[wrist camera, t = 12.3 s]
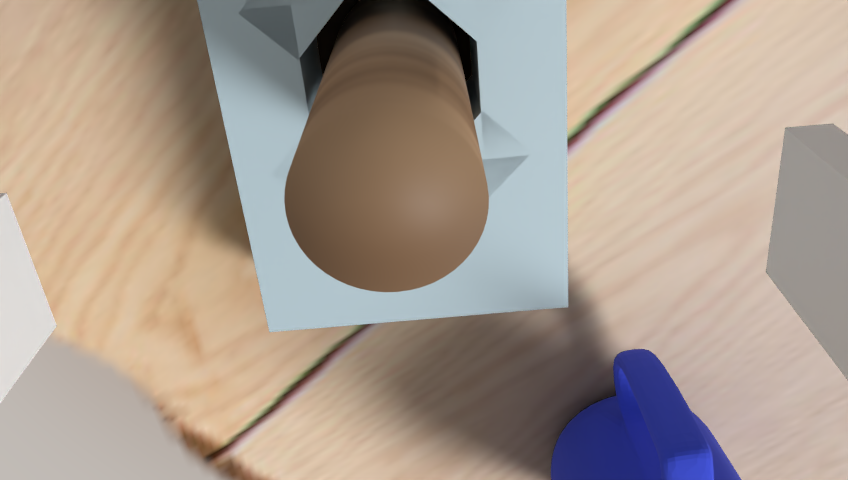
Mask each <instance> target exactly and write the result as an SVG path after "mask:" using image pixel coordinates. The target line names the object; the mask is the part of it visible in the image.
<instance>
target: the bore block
mask: <svg viewBox="0 0 848 480" xmlns="http://www.w3.org/2000/svg"><path fill="white" fill-rule="evenodd" d="M429 1H430V2H431V3H433V4H434V5H435V6H436V7H437V8H438V9H440V10H441V11H442V12H443V13H444V14H445V15H447V16H448V17H449V18H450V19H451V20H452V21H454V22H455V23H456V24H457V25H458V26H459V27H461V28H462V29H463V30H464V31H465V32H466V33H468V34H469V40H470V56H471V72H472V75H471V76H470V78H469V79H468V80H467V81H466V86H467V91H468V95H469V100H470V105H471V110H472V114H473V119H474V124H475V128H476V133H477V138H478V143H479V147H480V152H481V157H482V161H483V166H484V171H485V176H486V180H487V186H488V193H489V209H488V216H487V221H486V224H485V228H484V231H483V233H482V235H481V237H480V240H479V242H478V243H477V245H476V247H475V248H474V250H473V251H472V253H471V254H470V255H469V256H468V257H467V258H466V260H465V261H464V262H463V263H462V264H461V265H460V266H458V267H457V268H456V269H455V270H454V271H452V272H451V273H449V274H448V275H447V276H445V277H443V278H442V279H440V280H438V281H436V282H434V283H431V284H429V285H426V286H424V287H421V288H417V289H413V290H408V291H401V292H375V291H369V290H364V289H359V288H356V287H353V286H350V285H347V284H345V283H343V282H340V281H338V280H336V279H334V278H333V277H331V276H329V275H328V274H326V273H325V272H323V271H322V270H321V269H320V268H318V267H317V266H316V265H315V264H314V263H313V262H312V261H311V260H310V259H309V258H308V257H307V256H306V255H305V254H304V252H303V251H302V250H301V248H300V247H299V245H298V244H297V242H296V240H295V239H294V237H293V234H292V232H291V230H290V227H289V224H288V221H287V217H286V212H285V204H284V195H285V185H286V179H287V175H288V172H289V169H290V166H291V163H292V161H293V158H294V155H295V152H296V150H297V147H298V144H299V141H300V138H301V136H302V133H303V130H304V127H305V125H306V122H307V119H308V116H309V113H310V111H311V108H312V105H313V102H314V99H315V97H316V94H317V91H318V88H319V86H320V83H321V80H322V77H323V76H322V70H321V63H320V56H319V50H318V43H317V37H316V36H317V34H318V33H319V32H320V31H321V29H322V28H323V27H324V25H325V24H326V23H327V21H328V20H329V19H330V17H331V16H332V15H333V13H334V12H335V11H336V10H337V8H338V7H339V6H340V4H341V3H342V2H343V0H197V2H198V7H199V11H200V16H201V20H202V25H203V30H204V34H205V39H206V43H207V48H208V53H209V57H210V62H211V66H212V71H213V75H214V80H215V85H216V89H217V94H218V98H219V103H220V107H221V112H222V117H223V121H224V126H225V130H226V135H227V140H228V144H229V149H230V153H231V158H232V162H233V167H234V172H235V176H236V181H237V185H238V190H239V195H240V199H241V204H242V208H243V213H244V217H245V222H246V227H247V231H248V236H249V240H250V245H251V250H252V254H253V259H254V263H255V268H256V272H257V277H258V282H259V286H260V291H261V295H262V300H263V305H264V309H265V314H266V318H267V323H268V327H269V332H277V331H289V330H301V329H313V328H325V327H337V326H349V325H361V324H373V323H385V322H396V321H408V320H420V319H432V318H444V317H456V316H468V315H480V314H492V313H504V312H516V311H527V310H539V309H551V308H563V307H568V191H567V35H566V0H429Z"/></svg>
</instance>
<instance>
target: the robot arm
mask: <svg viewBox="0 0 848 480" xmlns="http://www.w3.org/2000/svg"><path fill="white" fill-rule="evenodd" d="M766 273H767V274H768V276H769V277H770V278H771V279H772V281H773V282H774V283H775V285H776V286H777V287H778V289H779V290H780V291H781V293H782V294H783V295H784V297H785V298H786V299H787V301H788V302H789V303H790V305H791V306H792V307H793V309H794V310H795V311H796V313H797V314H798V315H799V317H800V318H801V319H802V320H803V322H804V323H805V324H806V326H807V327H808V328H809V330H810V331H811V332H812V334H813V335H814V336H815V338H816V339H817V340H818V342H819V343H820V344H821V346H822V347H823V348H824V350H825V351H826V352H827V354H828V355H829V356H830V357H831V359H832V360H833V361H834V363H835V364H836V365H837V367H838V368H839V369H840V371H841V372H842V373H843V375H844V376H845V377H846V379H847V380H848V134H846V133H845V132H843V131H842V130H841V129H839V128H838V127H837V126H835V125H834V124H822V125H811V126H799V127H787V128H785V133H784V141H783V148H782V156H781V163H780V170H779V178H778V185H777V193H776V200H775V208H774V215H773V222H772V230H771V237H770V245H769V252H768V260H767V267H766ZM56 326H57V325H56V323H55V320H54V317H53V315H52V312H51V310H50V307H49V304H48V302H47V299H46V296H45V294H44V291H43V288H42V286H41V283H40V280H39V278H38V275H37V272H36V270H35V267H34V264H33V262H32V259H31V256H30V254H29V251H28V248H27V246H26V243H25V240H24V238H23V235H22V233H21V230H20V227H19V225H18V222H17V219H16V217H15V214H14V211H13V209H12V206H11V203H10V201H9V198H8V195H7V193H0V403H1V402H2V400H3V399H4V398H5V396H6V395H7V393H8V392H9V391H10V389H11V388H12V387H13V385H14V384H15V382H16V381H17V380H18V378H19V377H20V376H21V374H22V373H23V371H24V370H25V369H26V367H27V366H28V365H29V363H30V362H31V361H32V359H33V358H34V356H35V355H36V353H37V352H38V351H39V350H40V348H41V347H42V345H43V344H44V343H45V341H46V340H47V339H48V337H49V336H50V334H51V333H52V332H53V330H54V329H55V328H56Z"/></svg>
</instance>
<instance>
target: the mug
mask: <svg viewBox="0 0 848 480" xmlns="http://www.w3.org/2000/svg"><path fill="white" fill-rule="evenodd" d="M613 371H614V383H615V390H616V396H613V397H609V398H606V399H603V400H601V401H599V402H596V403H594V404H592V405H590V406H589V407H587V408H586V409H584V410H583V411H581V412H580V413H578V414H577V415H576V416H575V417H574V418H573V419H572V420H571V421H570V422H569V423H568V424H567V426H566V427H565V428H564V430H563V431H562V433H561V434H560V436H559V438H558V440H557V443H556V445H555V448H554V452H553V456H552V463H551V480H741V478H740V477H739V475H738V474H737V472H736V470H735V469H734V467H733V466H732V464H731V463H730V461H729V459H728V458H727V456H726V455H725V453H724V452H723V450H722V448H721V447H720V445H719V444H718V442H717V441H716V439H715V437H714V436H713V435H712V433H711V432H710V430H709V429H708V427H707V426H706V425H705V424H704V423H703V422H702V421H701V420H700V419H699V417H697V416H696V415H695V414H694V413H693V412H692V411H690V409H689V407H688V405H687V403H686V402H685V400H684V398H683V396H682V394H681V393H680V391H679V389H678V387H677V386H676V384H675V383H674V381H673V380H672V378H671V377H670V375H669V373H668V372H667V370H666V369H665V367H664V366H663V364H662V363H661V362H660V360H659V359H658V358H657V357H656V356H655V355H654V354H653V353H652V352H650V351H649V350H645V349H633V350H628V351H623V352H621V353H619V354H618V355H617V356H616V357H615V359H614V366H613Z"/></svg>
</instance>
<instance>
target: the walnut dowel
mask: <svg viewBox="0 0 848 480" xmlns="http://www.w3.org/2000/svg"><path fill="white" fill-rule="evenodd" d="M284 204H285V212H286V217H287V221H288V224H289V227H290V230H291V232H292V234H293V237H294V239H295V240H296V242H297V244H298V245H299V247H300V248H301V250H302V251H303V252H304V254H305V255H306V256H307V257H308V258H309V259H310V260H311V261H312V262H313V263H314V264H315V265H316V266H317V267H318V268H320V269H321V270H322V271H323V272H325V273H326V274H328V275H329V276H331V277H333V278H334V279H336V280H338V281H340V282H343V283H345V284H347V285H350V286H353V287H356V288H359V289H364V290H369V291H375V292H401V291H408V290H413V289H417V288H421V287H424V286H426V285H429V284H431V283H434V282H436V281H438V280H440V279H442V278H443V277H445V276H447V275H448V274H449V273H451V272H452V271H454V270H455V269H456V268H457V267H458V266H460V265H461V264H462V263H463V262H464V261H465V260H466V258H467V257H468V256H469V255H470V254H471V253H472V251H473V250H474V248H475V247H476V245H477V243H478V242H479V240H480V237H481V235H482V233H483V231H484V228H485V224H486V221H487V216H488V209H489V193H488V186H487V180H486V176H485V171H484V166H483V161H482V157H481V152H480V147H479V143H478V138H477V133H476V128H475V124H474V119H473V114H472V110H471V105H470V100H469V95H468V91H467V86H466V81H465V77H464V72H463V67H462V62H461V58H460V53H459V48H458V44H457V39H456V35H455V31H454V28H453V26H452V24H451V22H450V20H449V18H448V16H447V15H445V14H444V13H443V12H442V11H441V10H440V9H438V8H437V7H436V6H435V5H434V4H433V3H431V2H430V1H429V0H360V1H359V2H358V3H357V4H356V5H355V6H354V7H353V8H352V9H351V10H350V11H349V13H348V14H347V16H346V17H345V19H344V21H343V23H342V25H341V27H340V30H339V33H338V36H337V38H336V41H335V44H334V47H333V49H332V52H331V55H330V58H329V61H328V63H327V66H326V69H325V72H324V74H323V77H322V80H321V83H320V86H319V88H318V91H317V94H316V97H315V99H314V102H313V105H312V108H311V111H310V113H309V116H308V119H307V122H306V125H305V127H304V130H303V133H302V136H301V138H300V141H299V144H298V147H297V150H296V152H295V155H294V158H293V161H292V163H291V166H290V169H289V172H288V175H287V179H286V185H285V195H284Z"/></svg>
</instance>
